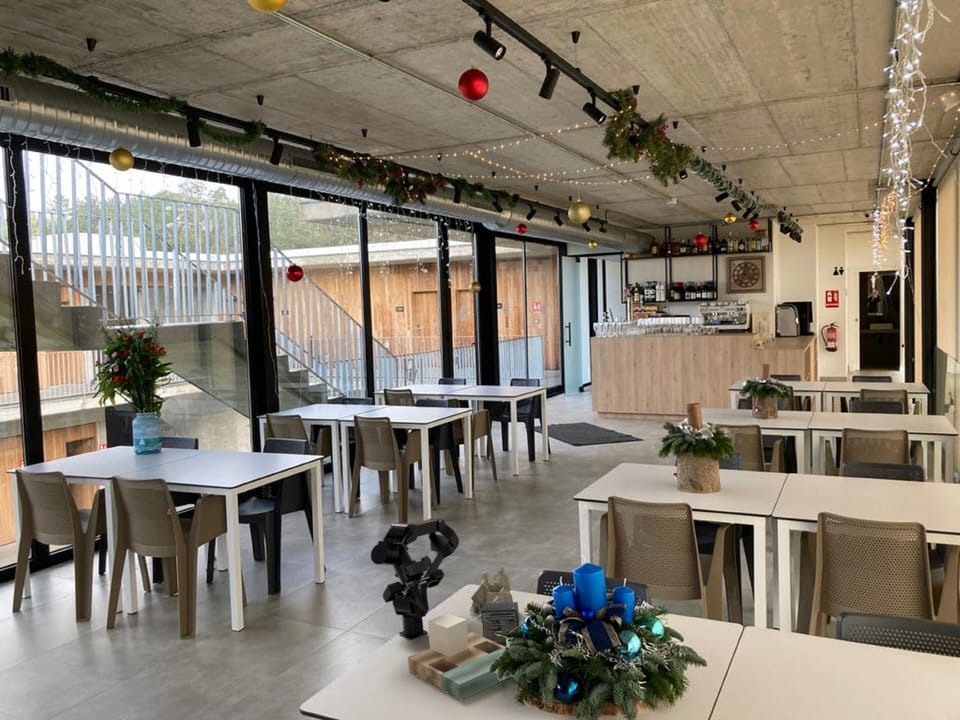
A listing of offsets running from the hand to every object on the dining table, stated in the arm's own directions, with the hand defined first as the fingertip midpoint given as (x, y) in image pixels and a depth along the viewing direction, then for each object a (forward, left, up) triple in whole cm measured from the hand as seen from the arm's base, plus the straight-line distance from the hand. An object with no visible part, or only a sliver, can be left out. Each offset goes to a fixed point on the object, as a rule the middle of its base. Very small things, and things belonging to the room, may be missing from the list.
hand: (427, 610), depth 216 cm
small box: (+9, +19, -12) cm, 25 cm away
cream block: (+10, 0, -8) cm, 13 cm away
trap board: (+16, 0, -12) cm, 20 cm away
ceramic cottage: (-8, +30, -13) cm, 33 cm away
